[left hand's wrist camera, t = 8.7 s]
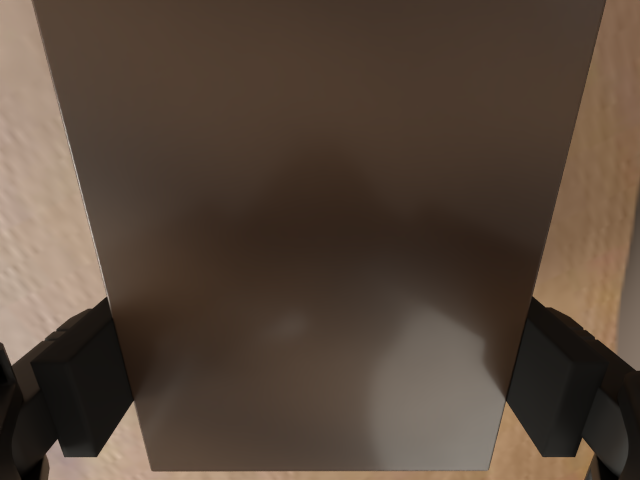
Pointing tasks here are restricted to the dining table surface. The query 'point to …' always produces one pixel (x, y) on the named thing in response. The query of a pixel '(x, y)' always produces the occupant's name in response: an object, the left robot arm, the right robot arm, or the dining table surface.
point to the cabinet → (319, 215)
